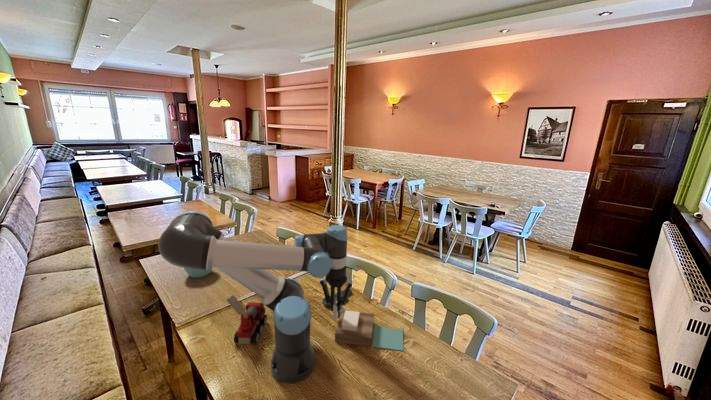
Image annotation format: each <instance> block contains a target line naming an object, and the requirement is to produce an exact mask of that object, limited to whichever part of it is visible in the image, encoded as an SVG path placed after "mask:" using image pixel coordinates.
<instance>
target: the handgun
mask: <svg viewBox="0 0 711 400" xmlns="http://www.w3.org/2000/svg"><path fill="white" fill-rule="evenodd" d="M345 290H346V288H345V289H343V290H342V289H341V299H343V296H344V293H345ZM350 295H353V290H352V289H351V288H350V289H349V291H348V294H347V297H346V300H345V303H346V302H348V297H349V296H350ZM330 298H331V295H330ZM335 301H337V292H335ZM335 301H334V302H335ZM321 303H322V305H323V306H324V307H325V308H327V307H329V308H330V309H331V304H330V303H327V302H326V299H325V297H324V298H322V300H321ZM342 310H344V311H345V310H346V309H345V308H344V307H343V306H342V305H341V309H340V312H338V316H340V315H341V311H342ZM331 312H332V313H333V311H331Z"/></svg>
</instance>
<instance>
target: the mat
mask: <svg viewBox="0 0 711 400" xmlns="http://www.w3.org/2000/svg"><path fill="white" fill-rule="evenodd" d="M383 326H385V325H378V324H373V333H372V342H371V347H372V348H379V349H386V350H393V351H400V352H404V351H405V350H404V328H401V327H397V328H398V330H397V332H396V331H394V330H393V329H390V328H386V326H385V327H383ZM385 328H386V329H385ZM400 329H401V330H400ZM398 331H399V332H398Z"/></svg>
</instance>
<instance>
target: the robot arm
mask: <svg viewBox="0 0 711 400" xmlns="http://www.w3.org/2000/svg"><path fill="white" fill-rule="evenodd" d="M207 215H208V214H207ZM207 215H206V214H205V213H203V212H200V211H196V210H195V211H194V210H193V211H192V210H191V211H185V212H182V213H181V214H179V215H178V216H176V217H175V218H173V220H171V222H170V223H169V225H168V226H167V227H166V229H165V230H164V231H163V232H162V233H161V235H160V237H159V239H158V245H157V246H158V247H157V248H158V252H159V253H160V256H161V257H162V258H163V259H164V260H165V261H166V262H168V263H169V264H170V265H173V266H175V267H179V268H183V269H184V268H188V269H198V270H208V269H210V268H211V267H213V268H216V269H217V270H219V271H220V272H221V273H223V274H224V275H226V276H228V277H229V278H231V279H232V280H234V281H235V282H237V283H238V284H240V285H242V287H244V288H246V289H247V290H249V291H250V292H252V293H254V294H255V295H257V296H259V298H261V303H263V305H264V307H267V308H268V309H270V310H271V311H273V323H274V324H273V325H274V342H275V343H274V344H275V345H274V346H275V348H274V350H273V353H272V357H271V359H270V372H271V374H272V376H273V377H274V378H275V379H276V380H277V381H279V382H281V383H286V384H293V383H298V382H301V381H304V380H305V379H307V378H308V377H309V376H310V375H311V374H312V373H313V371H315V370H314V369H315V367H316V354H315V351H314V349H313V346H312V344H311V319H312V311H311V308H310V304H309V303H308V300H306V298H305V294H304V288H302V285H301V284H300V283H299V281H298V280H295V279H294V278H291V277H288V278H286V277H285V276H283V275H280V276H276V275H275V274H273V273H272V272H270V271H269V270H273V271H274V270H275V271H276V270H277V271H278V270H279V271H292V272H295V271H296V272H308V274H309V275H310V276H311V277H314V278H315V279H320V281H319V284H320V285H321V287H322V290H323V295H324V298H325V299H326V302H327V303H330V304H331V308H330V311H331V312H332V311H333V312H332V320H336V321H337V320H338V317H339V315H338V312H340V309H341V306H342V305H345V303H346V302H345V300H346V297H347V298H348V296H347V294H348V291H349V289H351V288H352V286H353V280H348V277H347V262H348V261H347V257H348V253H347V250H348V229H347V228H346V227H345V226H344V225H340V224H332V225H329V226H328V227H327V229H326V232H320V233H319V232H318V233H304V234H297V235H295V236H294V240H293V244H294V246H292V245H282V244H270V243H258V242H249V241H248V242H247V241H237V240H225V239H224V234H223V232H222V231H221V230H220V229H218V228H216V227H215V226H214V225H213V222H212V220H211V219H210V217H209V216H207ZM300 285H301V286H300ZM328 285H329V287H330V291H329V288H328ZM344 285H345V286H346V287H345V289H346V290H345V289H344V290H345V293H344V296H343V299H341V291H342V287H343V286H344ZM336 293H337V301H335V294H336ZM330 296H331V298H330ZM334 301H335V302H334Z"/></svg>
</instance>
